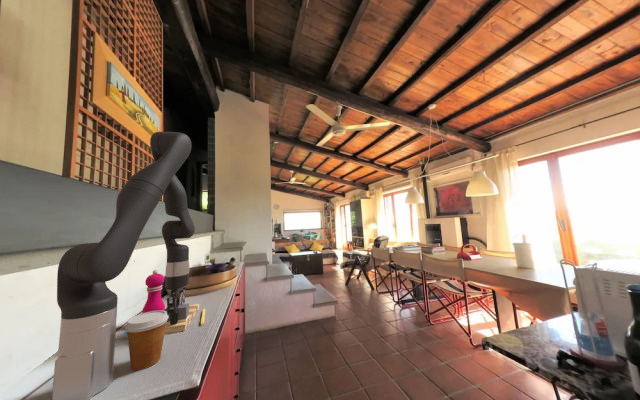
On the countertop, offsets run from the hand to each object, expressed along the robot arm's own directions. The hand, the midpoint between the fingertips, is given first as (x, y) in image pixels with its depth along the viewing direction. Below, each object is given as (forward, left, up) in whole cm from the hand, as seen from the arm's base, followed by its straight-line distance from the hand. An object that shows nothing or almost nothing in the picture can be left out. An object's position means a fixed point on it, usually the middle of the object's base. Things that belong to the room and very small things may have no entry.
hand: (176, 320), depth 81 cm
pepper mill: (+8, +10, -2) cm, 13 cm away
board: (+6, 0, -2) cm, 7 cm away
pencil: (+4, -8, -2) cm, 9 cm away
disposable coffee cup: (-22, +1, -2) cm, 22 cm away
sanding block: (0, 0, 0) cm, 0 cm away
